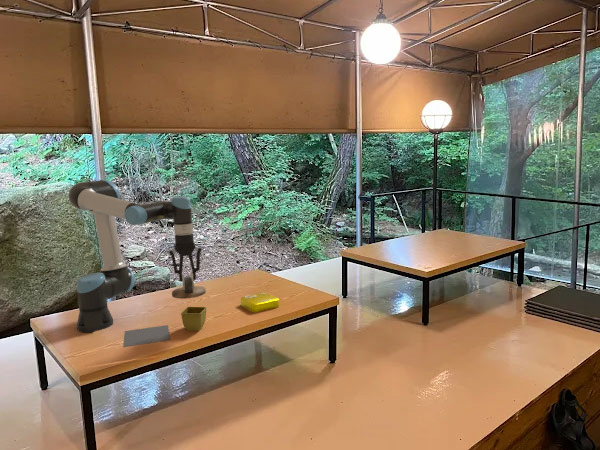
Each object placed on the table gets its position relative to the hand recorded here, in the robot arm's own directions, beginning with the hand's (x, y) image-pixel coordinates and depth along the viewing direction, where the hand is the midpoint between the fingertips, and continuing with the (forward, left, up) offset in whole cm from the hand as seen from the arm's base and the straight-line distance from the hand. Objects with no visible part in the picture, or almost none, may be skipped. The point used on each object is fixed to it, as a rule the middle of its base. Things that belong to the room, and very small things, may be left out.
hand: (188, 287), depth 202 cm
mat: (-18, 0, -19) cm, 27 cm away
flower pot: (+2, 0, -19) cm, 19 cm away
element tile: (+35, +20, -20) cm, 45 cm away
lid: (0, 0, -2) cm, 2 cm away
